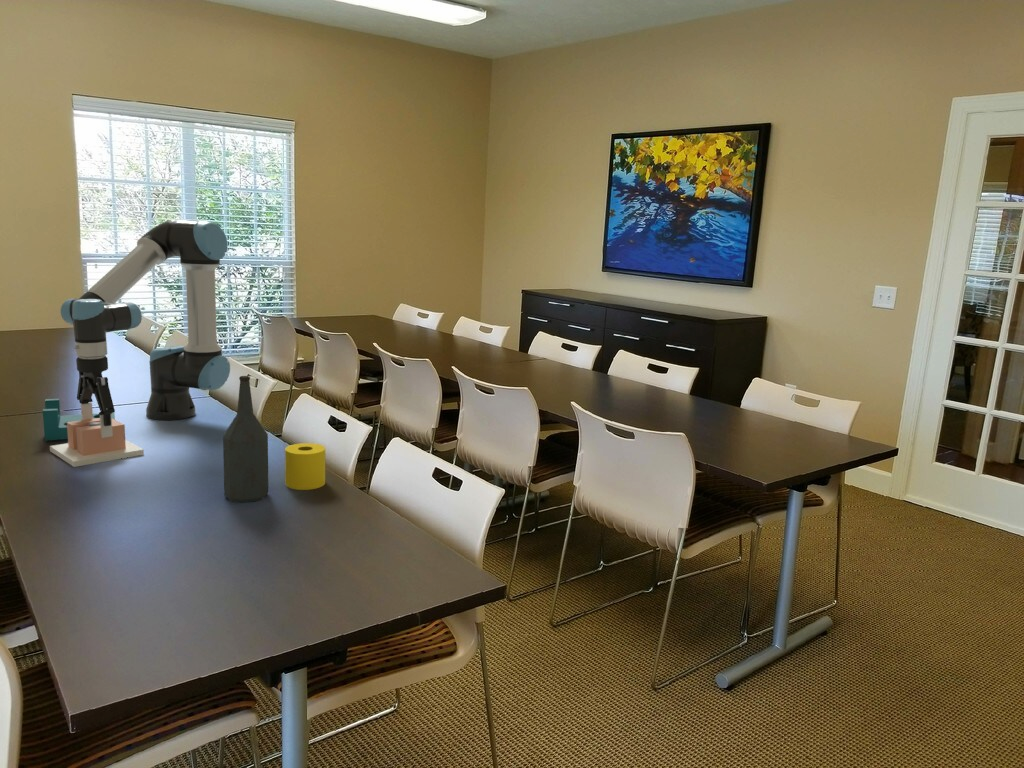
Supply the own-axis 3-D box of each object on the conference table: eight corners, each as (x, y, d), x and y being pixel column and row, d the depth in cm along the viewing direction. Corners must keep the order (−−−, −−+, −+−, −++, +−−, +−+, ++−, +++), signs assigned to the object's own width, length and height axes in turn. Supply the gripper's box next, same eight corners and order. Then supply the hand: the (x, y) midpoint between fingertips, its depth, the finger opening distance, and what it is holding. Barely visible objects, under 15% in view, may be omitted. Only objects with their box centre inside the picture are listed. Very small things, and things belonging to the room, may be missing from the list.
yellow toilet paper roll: (332, 480, 202) (332, 446, 201) (310, 492, 193) (311, 456, 191) (300, 475, 206) (300, 441, 204) (277, 486, 196) (277, 450, 194)
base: (117, 440, 227) (116, 412, 225) (143, 454, 215) (142, 425, 213) (50, 451, 213) (48, 421, 212) (74, 466, 202) (72, 435, 200)
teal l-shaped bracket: (45, 445, 221) (42, 410, 218) (47, 432, 230) (45, 399, 227) (115, 440, 229) (113, 407, 226) (115, 428, 238) (113, 396, 235)
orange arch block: (110, 440, 222) (108, 416, 220) (125, 448, 215) (124, 424, 213) (68, 446, 214) (66, 422, 212) (83, 455, 206) (81, 430, 205)
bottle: (227, 504, 182) (224, 381, 176) (221, 491, 190) (218, 373, 184) (272, 499, 186) (270, 379, 180) (264, 487, 195) (263, 371, 189)
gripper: (60, 350, 214) (66, 423, 219) (94, 365, 198) (100, 444, 203) (89, 348, 220) (94, 419, 224) (124, 362, 203) (129, 438, 208)
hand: (97, 431), depth 213 cm, fingers open, 13 cm apart
